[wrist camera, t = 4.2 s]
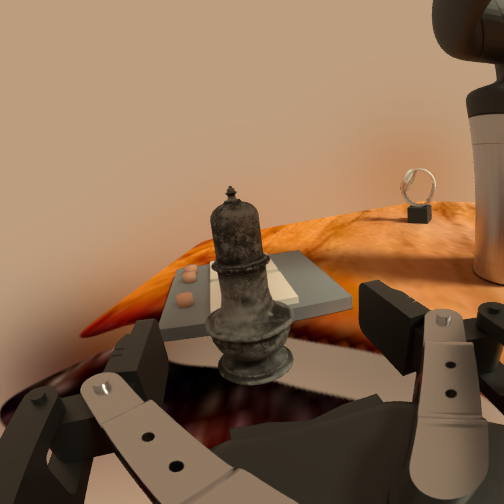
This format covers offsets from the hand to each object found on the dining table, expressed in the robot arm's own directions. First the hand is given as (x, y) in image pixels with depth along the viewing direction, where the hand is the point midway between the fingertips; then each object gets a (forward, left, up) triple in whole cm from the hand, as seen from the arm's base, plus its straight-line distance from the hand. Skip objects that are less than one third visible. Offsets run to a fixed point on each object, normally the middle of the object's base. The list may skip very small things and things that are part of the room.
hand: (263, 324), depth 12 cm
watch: (-40, -43, -7) cm, 59 cm away
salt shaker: (0, -8, -7) cm, 11 cm away
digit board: (-1, -22, -7) cm, 23 cm away
